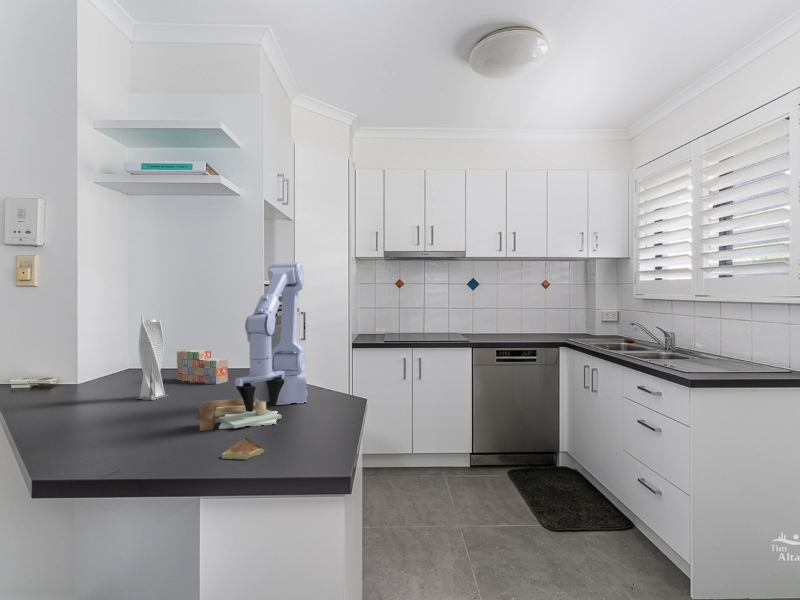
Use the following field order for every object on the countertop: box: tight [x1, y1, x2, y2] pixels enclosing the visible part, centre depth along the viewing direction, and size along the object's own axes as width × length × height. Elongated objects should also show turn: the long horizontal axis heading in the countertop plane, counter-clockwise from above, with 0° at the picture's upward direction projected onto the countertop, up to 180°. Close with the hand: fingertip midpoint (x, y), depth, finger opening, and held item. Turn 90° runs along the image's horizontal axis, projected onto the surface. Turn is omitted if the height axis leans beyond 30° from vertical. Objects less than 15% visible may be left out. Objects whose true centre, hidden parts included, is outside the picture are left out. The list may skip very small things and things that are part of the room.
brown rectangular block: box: [198, 400, 217, 432], centre depth 117 cm, size 3×7×6 cm, turn 14°
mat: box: [218, 410, 279, 430], centre depth 122 cm, size 14×12×1 cm
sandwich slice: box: [221, 437, 265, 461], centre depth 98 cm, size 11×8×2 cm
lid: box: [218, 399, 283, 429], centre depth 121 cm, size 13×10×4 cm
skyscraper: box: [135, 314, 170, 401], centre depth 152 cm, size 8×8×28 cm
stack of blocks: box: [176, 349, 229, 385], centre depth 181 cm, size 21×6×12 cm, turn 66°
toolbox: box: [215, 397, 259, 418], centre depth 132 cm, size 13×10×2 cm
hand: (261, 408), depth 123 cm, fingers open, 7 cm apart
